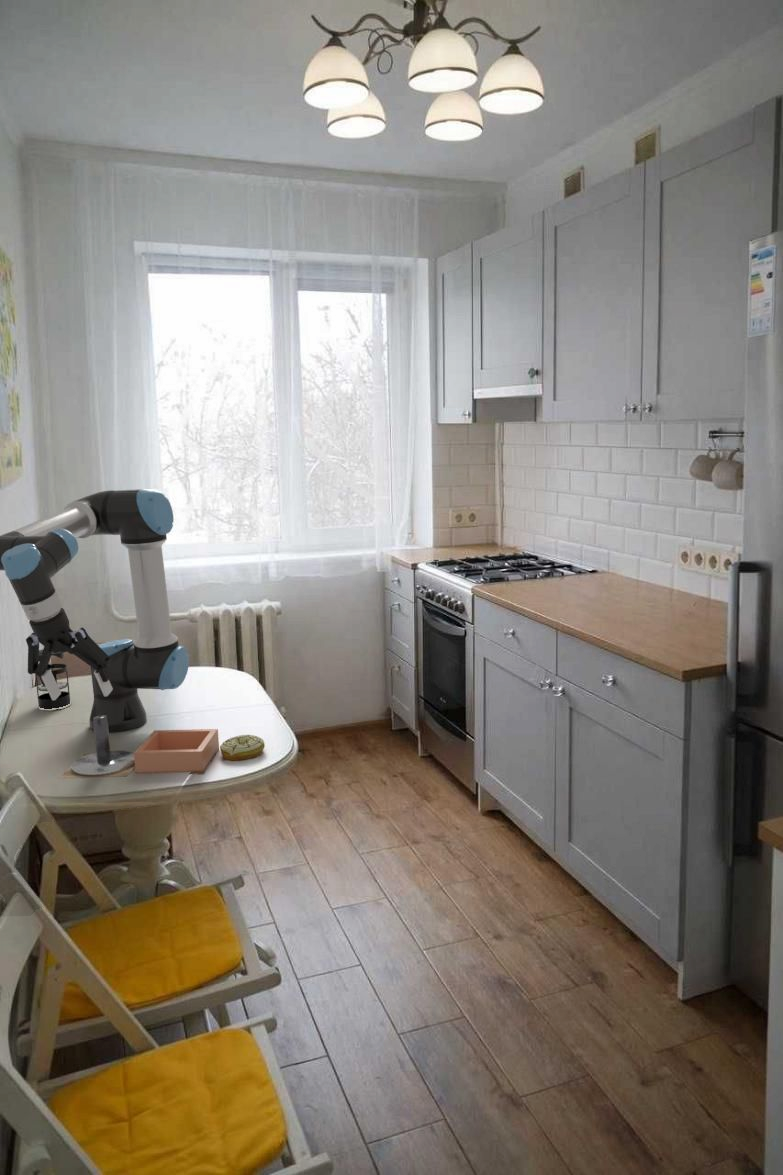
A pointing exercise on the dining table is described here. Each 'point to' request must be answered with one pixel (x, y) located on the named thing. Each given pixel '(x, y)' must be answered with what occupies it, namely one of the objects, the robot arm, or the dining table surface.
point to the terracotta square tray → (177, 751)
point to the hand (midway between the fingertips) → (82, 695)
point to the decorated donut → (242, 747)
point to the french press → (64, 697)
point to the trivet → (70, 774)
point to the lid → (103, 754)
